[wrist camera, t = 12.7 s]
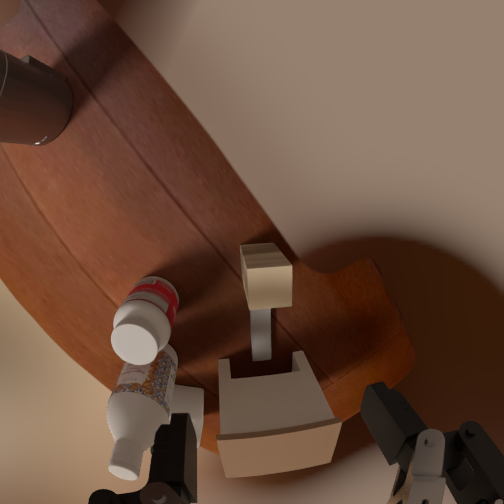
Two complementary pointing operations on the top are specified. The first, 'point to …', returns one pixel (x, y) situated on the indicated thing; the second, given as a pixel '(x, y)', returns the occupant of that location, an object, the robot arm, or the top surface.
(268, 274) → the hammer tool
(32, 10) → the top surface
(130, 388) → the bath foam
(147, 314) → the pill bottle
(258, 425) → the cabinet
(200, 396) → the medicine bottle
